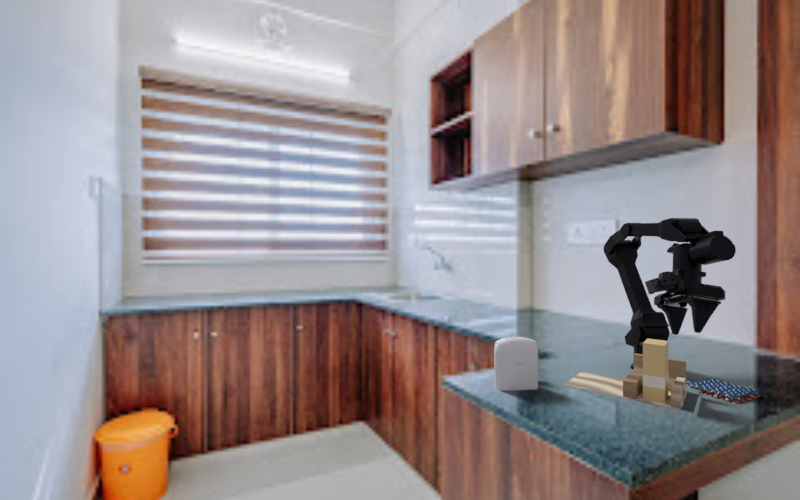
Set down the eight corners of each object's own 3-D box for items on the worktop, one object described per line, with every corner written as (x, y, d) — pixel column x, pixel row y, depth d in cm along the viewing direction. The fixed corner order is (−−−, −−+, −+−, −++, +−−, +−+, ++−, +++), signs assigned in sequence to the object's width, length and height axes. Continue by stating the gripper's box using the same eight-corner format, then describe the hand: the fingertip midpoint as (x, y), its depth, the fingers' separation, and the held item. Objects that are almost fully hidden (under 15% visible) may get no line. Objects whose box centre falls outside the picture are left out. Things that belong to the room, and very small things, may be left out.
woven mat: (736, 406, 85) (736, 397, 85) (683, 390, 95) (683, 382, 95) (763, 399, 89) (763, 390, 89) (710, 385, 99) (710, 376, 99)
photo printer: (497, 393, 91) (497, 339, 91) (491, 387, 95) (491, 335, 95) (541, 392, 92) (541, 338, 92) (533, 386, 96) (533, 334, 96)
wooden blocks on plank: (581, 373, 106) (581, 345, 106) (687, 393, 91) (687, 360, 91) (563, 387, 95) (563, 355, 95) (680, 412, 81) (680, 374, 81)
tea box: (647, 390, 91) (647, 338, 91) (668, 395, 89) (668, 340, 89) (642, 398, 87) (642, 343, 87) (665, 402, 84) (665, 345, 84)
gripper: (633, 270, 106) (631, 329, 103) (671, 254, 88) (669, 324, 85) (679, 277, 104) (678, 337, 101) (726, 261, 87) (727, 334, 83)
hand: (685, 333), depth 93 cm, fingers open, 9 cm apart
